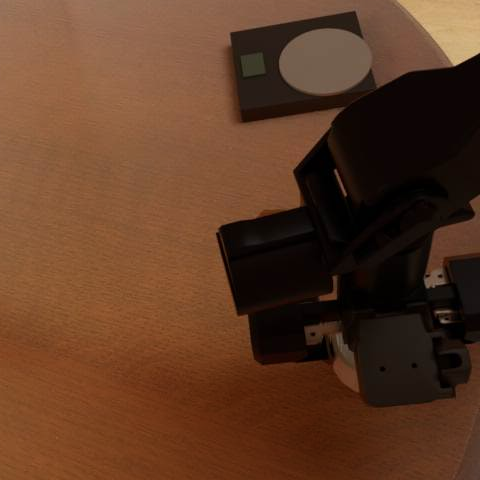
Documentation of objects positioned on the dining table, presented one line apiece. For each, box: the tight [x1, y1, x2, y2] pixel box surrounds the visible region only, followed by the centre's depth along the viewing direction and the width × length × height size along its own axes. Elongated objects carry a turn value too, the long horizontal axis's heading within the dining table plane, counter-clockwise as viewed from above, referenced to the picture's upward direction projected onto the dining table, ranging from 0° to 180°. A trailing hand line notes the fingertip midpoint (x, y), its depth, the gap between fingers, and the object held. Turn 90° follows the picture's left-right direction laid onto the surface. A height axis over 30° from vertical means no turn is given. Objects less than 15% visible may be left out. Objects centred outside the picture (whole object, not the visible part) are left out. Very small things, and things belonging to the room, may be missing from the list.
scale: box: [229, 10, 378, 123], centre depth 81 cm, size 14×12×2 cm
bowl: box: [330, 321, 359, 393], centre depth 61 cm, size 6×6×4 cm
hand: (371, 355), depth 62 cm, fingers closed on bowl, 6 cm apart
